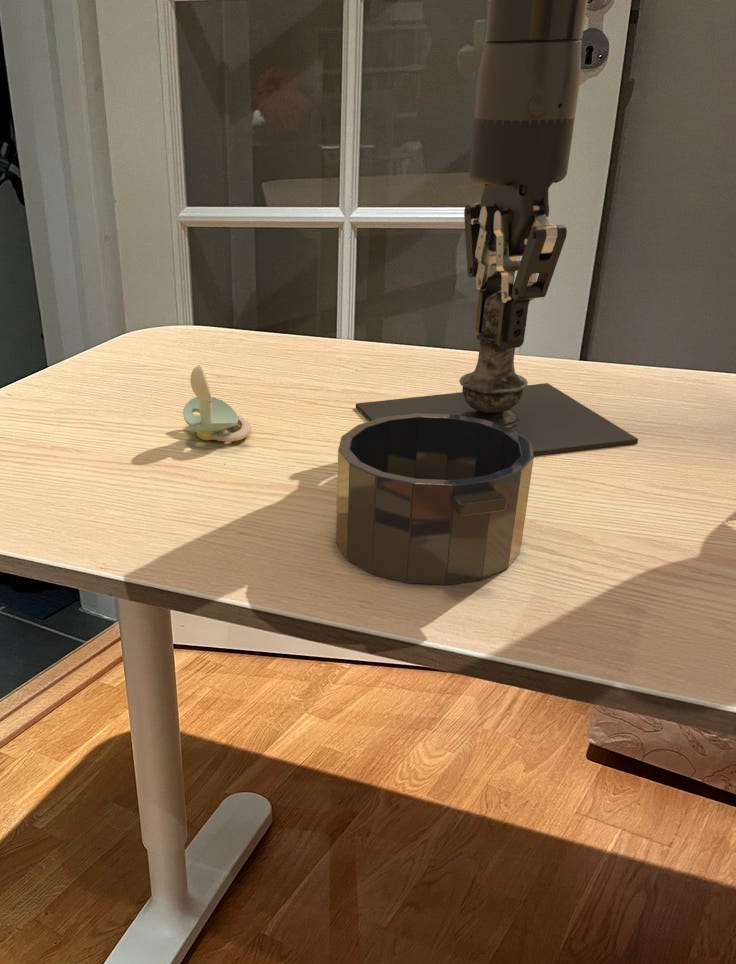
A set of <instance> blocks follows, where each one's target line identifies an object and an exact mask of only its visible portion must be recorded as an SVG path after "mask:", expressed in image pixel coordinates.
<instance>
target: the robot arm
mask: <svg viewBox="0 0 736 964" xmlns="http://www.w3.org/2000/svg"><path fill="white" fill-rule="evenodd" d="M588 1H589V0H487V1H486V2H487V3H486V14H485V25H484V35H483V41H484V43H483V46H482V51H481V52H482V53H481V58H480V61H479V62H480V63H479V67H478V72H477V73H478V74H477V79H476V86H475V87H476V88H475V98H474V109H473V110H474V111H473V112H474V113H473V120H472V130H471V131H472V133H471V143H470V145H471V146H470V155H469V165H468V168H469V169H468V175H469V178H470V179H471V180H472V181H473V182H475V183H478V184H483V185H484V187H483V190H482V193H481V197H480V201H479V202H476V203H467V204H465V207H464V208H463V209H464V212H463V217H464V219H463V220H464V235H465V252H466V270H467V271H466V272H467V276H468V278H469V279H472V278H475V280H474V281H475V282H474V284H475V285H474V286H475V288H476V290H479V292H478V300H477V308H476V309H477V311H476V322H475V333H476V334H477V335H479V334H480V333H482V326H483V316H484V306H485V302H486V299H487V298H488V297H489V296H490V295H492V294H494V293H497V292H498V291H501V299H502V302H500V310H499V319H498V328H497V337H496V344H497V346H499V347H501V348H502V349H507V348H515V349H516V348H520V347H522V346H523V345H524V342H525V336H526V335H525V334H526V327H527V320H528V311H529V306H530V305H529V304H530V303H531V301H534V300H535V299H539V298H540V299H541V298H545V297H546V296H547V293H548V291H549V287H550V285H551V283H552V282H551V281H552V278H553V277H554V276H553V275H554V273H555V270H556V267H557V264H558V261H559V258H560V255H561V253H562V249H563V247H564V245H565V241H566V238H567V233H568V230H567V227H566V224H553V223H552V221H551V220H550V219H549V216H550V201H549V189H550V187H551V186H552V185H553V184H554V183H555V184H556V183H559V182H562V181H563V180H564V179H565V178H566V177H567V174H568V170H569V162H570V155H571V150H572V149H571V148H572V140H573V134H574V126H575V121H576V113H577V106H578V105H577V103H578V98H579V90H580V82H581V72H582V71H581V70H582V44H583V41H582V39H583V37H584V30H585V22H586V15H587V9H588V8H587V7H588ZM519 257H521V259H520V260H518V259H519ZM515 273H516V275H514V274H515ZM537 274H538V276H537ZM514 276H515V279H514ZM500 286H501V287H500Z"/></svg>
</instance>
